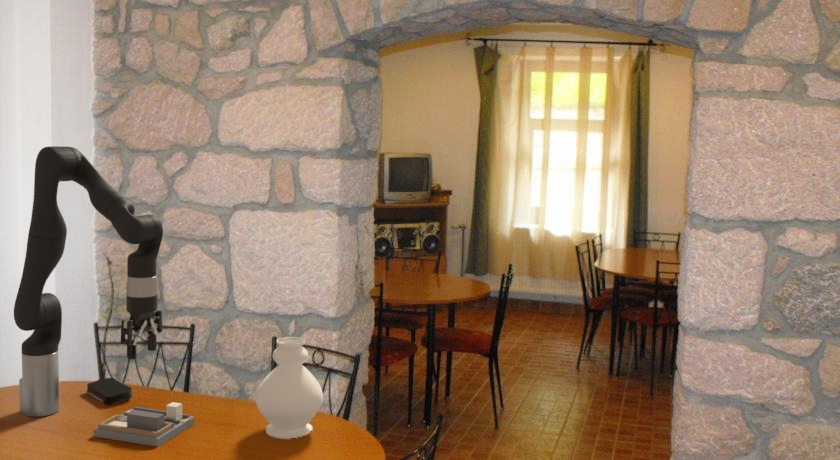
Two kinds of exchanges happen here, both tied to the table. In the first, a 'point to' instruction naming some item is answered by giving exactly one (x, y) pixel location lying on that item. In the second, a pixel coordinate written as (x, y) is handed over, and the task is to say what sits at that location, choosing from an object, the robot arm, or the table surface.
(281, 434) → the decorative vase
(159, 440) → the switch board
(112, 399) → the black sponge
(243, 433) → the table surface
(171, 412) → the switch tab
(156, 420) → the grey block with bolt
